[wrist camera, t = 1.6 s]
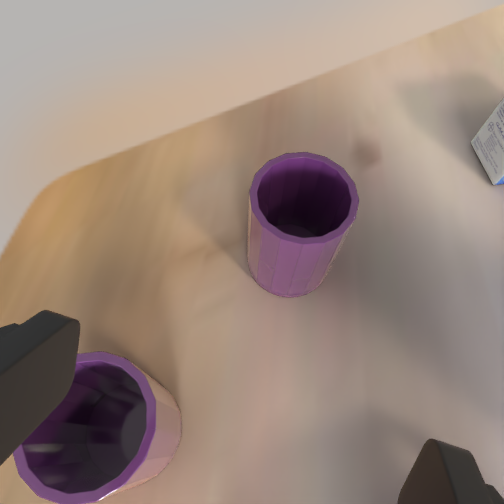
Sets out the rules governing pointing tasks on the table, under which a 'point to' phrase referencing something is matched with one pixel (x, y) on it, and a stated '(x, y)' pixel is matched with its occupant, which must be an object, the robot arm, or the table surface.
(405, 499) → the robot arm
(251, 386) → the table surface
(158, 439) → the plum cup
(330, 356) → the table surface
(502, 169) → the medicine box
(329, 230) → the plum cup
